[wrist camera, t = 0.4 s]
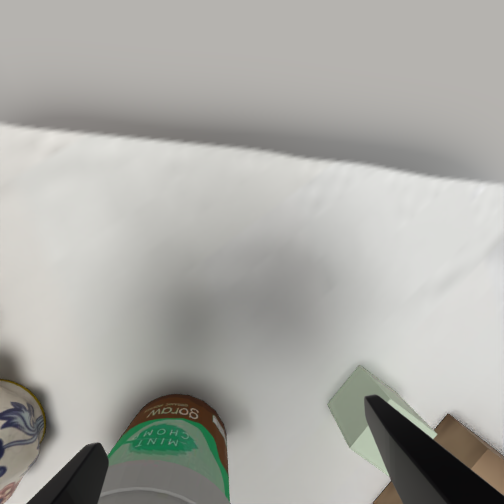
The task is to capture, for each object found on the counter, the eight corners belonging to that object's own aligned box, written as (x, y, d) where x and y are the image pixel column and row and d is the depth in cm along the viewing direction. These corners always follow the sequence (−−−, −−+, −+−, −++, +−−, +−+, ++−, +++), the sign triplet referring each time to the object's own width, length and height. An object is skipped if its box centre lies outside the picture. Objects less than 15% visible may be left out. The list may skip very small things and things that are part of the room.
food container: (232, 372, 23) (225, 476, 13) (241, 432, 24) (241, 575, 14) (101, 393, 23) (-7, 516, 13) (113, 454, 23) (19, 617, 13)
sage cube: (365, 431, 24) (397, 482, 20) (327, 403, 24) (349, 448, 19) (397, 393, 24) (437, 434, 19) (359, 364, 24) (390, 398, 19)
